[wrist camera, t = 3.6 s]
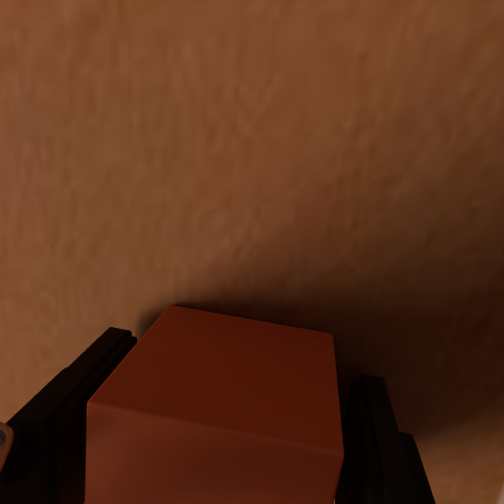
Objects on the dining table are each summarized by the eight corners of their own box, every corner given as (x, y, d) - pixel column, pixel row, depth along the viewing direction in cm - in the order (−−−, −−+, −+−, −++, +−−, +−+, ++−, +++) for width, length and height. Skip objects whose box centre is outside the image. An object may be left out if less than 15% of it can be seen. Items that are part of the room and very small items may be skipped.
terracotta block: (333, 332, 11) (345, 455, 7) (305, 470, 13) (301, 646, 8) (168, 303, 12) (84, 402, 7) (158, 439, 13) (81, 591, 9)
